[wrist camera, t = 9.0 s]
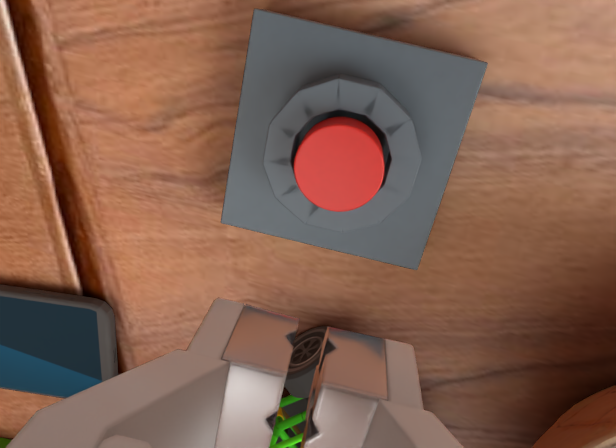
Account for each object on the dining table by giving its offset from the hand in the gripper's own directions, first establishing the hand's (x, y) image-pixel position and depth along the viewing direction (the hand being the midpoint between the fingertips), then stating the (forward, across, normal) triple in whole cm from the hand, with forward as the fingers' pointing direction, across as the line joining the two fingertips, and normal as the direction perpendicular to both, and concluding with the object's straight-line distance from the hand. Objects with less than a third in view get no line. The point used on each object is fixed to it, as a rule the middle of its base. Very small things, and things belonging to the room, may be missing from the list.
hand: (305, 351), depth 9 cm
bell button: (+14, 0, 0) cm, 14 cm away
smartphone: (+17, +18, +17) cm, 30 cm away
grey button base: (+17, 0, 0) cm, 17 cm away
